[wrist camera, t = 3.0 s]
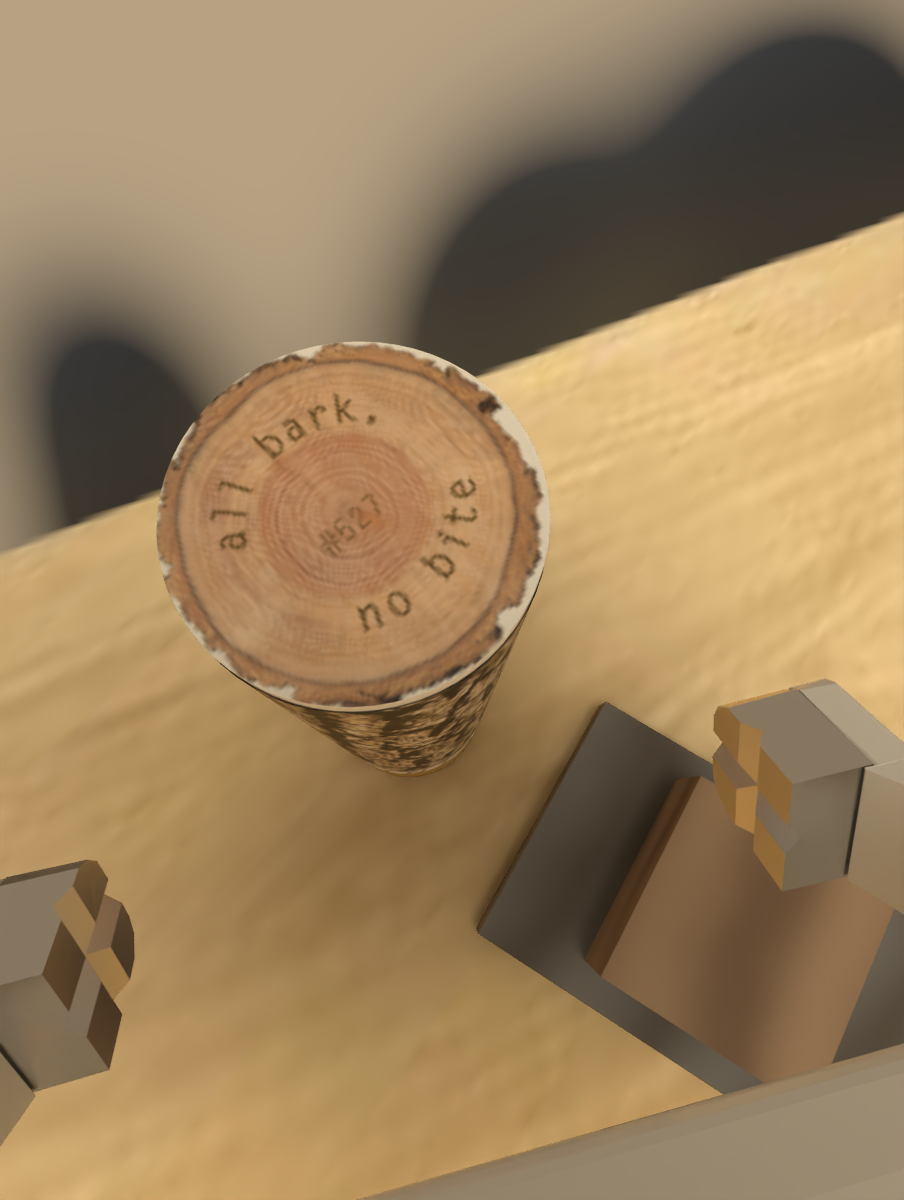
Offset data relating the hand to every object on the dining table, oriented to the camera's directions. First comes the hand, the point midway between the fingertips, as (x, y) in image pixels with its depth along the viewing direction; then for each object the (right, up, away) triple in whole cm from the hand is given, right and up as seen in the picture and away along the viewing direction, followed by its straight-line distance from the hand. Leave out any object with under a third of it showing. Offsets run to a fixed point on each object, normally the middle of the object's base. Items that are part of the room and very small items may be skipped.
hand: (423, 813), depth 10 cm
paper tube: (-2, -3, +27) cm, 27 cm away
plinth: (+12, -12, +25) cm, 30 cm away
